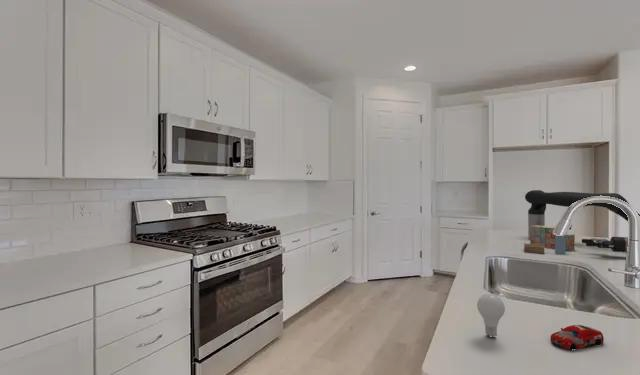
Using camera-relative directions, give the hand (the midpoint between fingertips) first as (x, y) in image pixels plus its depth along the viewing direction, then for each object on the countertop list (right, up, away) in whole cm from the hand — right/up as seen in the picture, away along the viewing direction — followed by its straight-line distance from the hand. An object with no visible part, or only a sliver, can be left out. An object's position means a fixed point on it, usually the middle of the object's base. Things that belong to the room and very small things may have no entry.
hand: (583, 242), depth 171 cm
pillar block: (-9, -7, +5) cm, 12 cm away
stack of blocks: (-3, -7, +20) cm, 22 cm away
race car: (-76, -10, -91) cm, 119 cm away
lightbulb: (-95, -10, -87) cm, 129 cm away
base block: (-20, -7, +10) cm, 23 cm away
